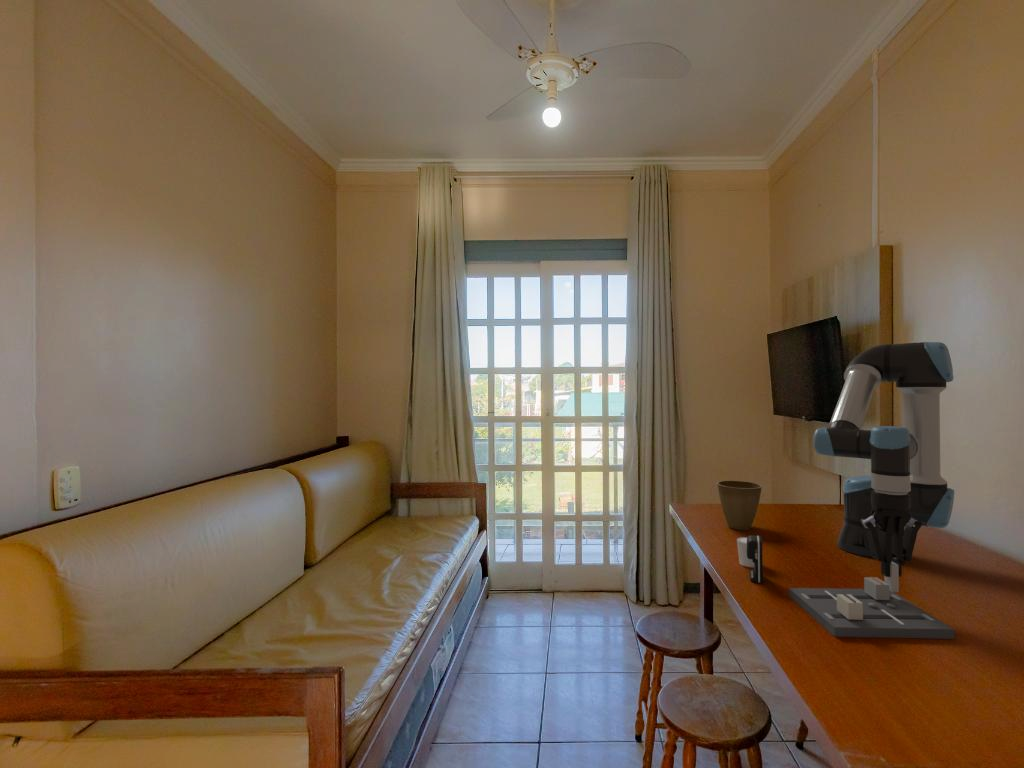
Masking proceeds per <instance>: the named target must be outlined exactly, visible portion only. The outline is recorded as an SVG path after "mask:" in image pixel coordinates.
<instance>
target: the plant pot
mask: <svg viewBox="0 0 1024 768" xmlns="http://www.w3.org/2000/svg"><path fill="white" fill-rule="evenodd" d="M762 487H763V486H762V485H761V484H760V483H756V482H752V481H751V482H750V481H745V480H721V481H718V482H717V491H718V496H719V502H720V505H721V509H722V511H723V516H724V519H725V520H726V524H727V526H728V527H729V528H730V529H733V530H739V531H748V530H750V529H751V528H752V526H753V523H754V520H755V518H756V516H757V515H756V514H757V512H758V511H757V510H758V509H759V508H758V507H759V503H760V501H761V500H760V499H761V494H762Z"/></svg>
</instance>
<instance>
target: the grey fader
mask: <svg viewBox="0 0 1024 768" xmlns="http://www.w3.org/2000/svg"><path fill="white" fill-rule="evenodd" d="M863 587H864V588H863V589H864V592H865V593H867V594H868V595H870V596H871V597H873V598H874V599H876V600H890V599H889V584H887V583H885V582H884V580H882V579H881V578H879V577H876V576H875V577H873V576H870V577H869V576H867V577H864V578H863Z"/></svg>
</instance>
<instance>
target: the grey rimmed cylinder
mask: <svg viewBox="0 0 1024 768" xmlns="http://www.w3.org/2000/svg"><path fill="white" fill-rule="evenodd" d="M747 537H748V536H746V537H745V536H743V537H742V536H741V537H738V538H736V543H737V544H736V545H737V553H738V562H739V563H738V564H740V565H741V566H743V567H747V568H754V565H755V564H754V562H752V559H748V558H747V552H746V547H747Z"/></svg>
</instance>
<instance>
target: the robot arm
mask: <svg viewBox="0 0 1024 768" xmlns="http://www.w3.org/2000/svg"><path fill="white" fill-rule="evenodd" d="M843 380H844V384H843V387H842V390H841V392H840V395H839V397H838V401H837V403H836V405H835V408H834V409H833V413H832V416H831V419H830V421H829V424H828V426H827V427H819V428H816V430H815V431H814V434H813V447H814V450H815V452H816V453H817V454H819V455H822V456H827V457H828V456H830V457H836V458H837V457H839V458H852V459H864V460H870V474H871V475H855V476H850V477H848V478H846V479H845V480H844V482H843V491H842V493H843V523H842V527H841V530H840V533H839V536H838V537H837V546H838V548H839V549H841V550H842V551H844V552H848V553H850V554H854V555H858V556H862V557H868V558H869V557H870V558H873V559H876V560H877V561H879V562H880V572H881V575H882V576H883V577H884V578H883V579H884V580H883V581H884V582H885V583H887V584H889V590H890V591H891V592H894V593H899V591H900V584H899V583H900V580H899V579H900V578H901V577H902V575H903V574H902V573H903V569H902V568H903V567H902V566H905V565H906V562H910V561H912V557H913V552H914V550H915V549H914V548H915V544H916V541H917V540H916V539H917V537H918V532H919V530H920V529H921V528H922V527H925V528H928V527H930V528H935V529H936V528H938V529H944V528H946V527H948V525H949V523H950V519H951V517H952V512H953V507H954V501H955V489H952V488H951V487H948V481H947V480H946V479H945V478H943V477H942V476H941V419H940V418H941V415H940V414H941V413H940V412H941V406H940V405H941V403H940V402H941V401H940V395H941V393H943V391H945V390H946V389H947V383H951V382H953V381H954V370H953V364H952V360H951V355H950V351H949V349H948V346H947V345H946V344H945V343H944V342H940V341H939V342H938V341H923V342H908V343H906V342H905V343H892V344H891V343H888V344H887V343H885V344H883V343H882V344H879V345H874V346H871V347H870V348H867V349H866V350H864V351H862V352H861V353H859V354H857V355H856V356H855V357H854V358H853V359H852V360H851V361H849V364H848V365H847V366H846V368H845V371H844V373H843ZM881 383H895V388H896V390H898V391H899V392H900V393H901V395H902V396H901V397H902V399H901V400H902V403H901V404H902V426H897V425H896V426H894V425H880V426H877V425H876V426H874V427H871V430H868V429H867V430H866V429H863V426H864V425H863V424H864V422H865V419H866V416H867V413H868V410H869V407H870V403H871V401H872V398H873V394H874V391H875V389H876V388H877V387H879V386H880V384H881Z"/></svg>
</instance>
